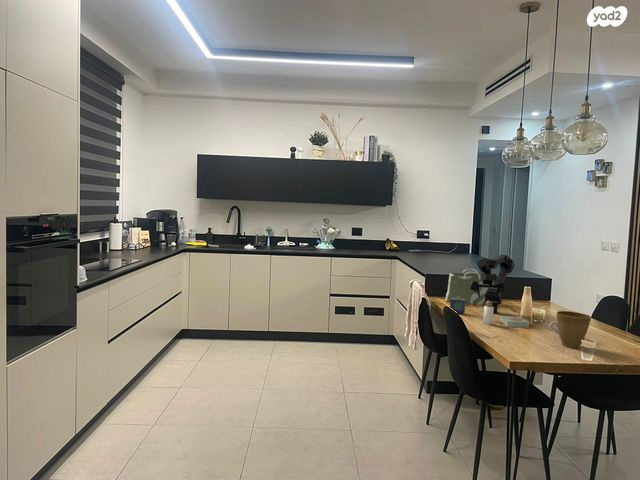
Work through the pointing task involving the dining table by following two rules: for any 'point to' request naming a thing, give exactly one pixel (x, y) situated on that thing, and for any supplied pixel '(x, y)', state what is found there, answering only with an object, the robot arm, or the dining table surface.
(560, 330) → the plant pot
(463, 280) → the grocery bag
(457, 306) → the flask
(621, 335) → the dining table surface
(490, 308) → the cosmetic bottle
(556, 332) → the teacup
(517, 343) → the dining table surface
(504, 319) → the stacking base
